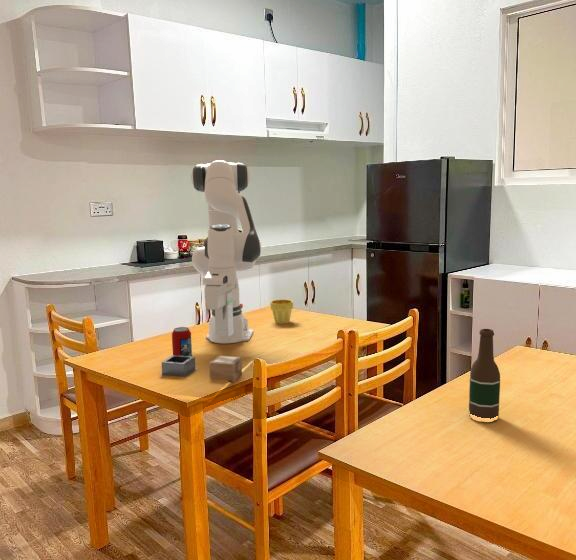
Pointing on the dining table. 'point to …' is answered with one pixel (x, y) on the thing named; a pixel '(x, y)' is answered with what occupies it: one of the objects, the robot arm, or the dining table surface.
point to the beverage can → (182, 341)
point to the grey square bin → (178, 366)
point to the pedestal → (226, 368)
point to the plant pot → (281, 310)
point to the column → (225, 318)
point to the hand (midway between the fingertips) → (224, 317)
